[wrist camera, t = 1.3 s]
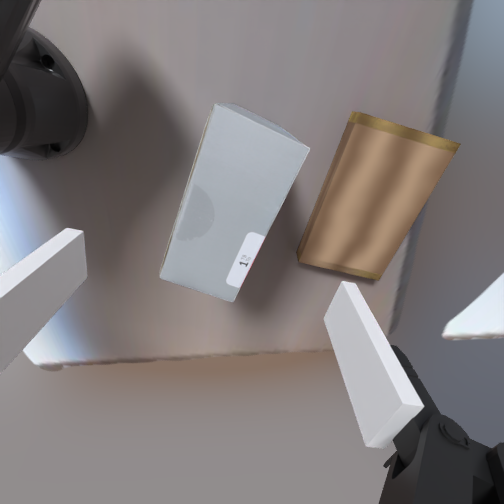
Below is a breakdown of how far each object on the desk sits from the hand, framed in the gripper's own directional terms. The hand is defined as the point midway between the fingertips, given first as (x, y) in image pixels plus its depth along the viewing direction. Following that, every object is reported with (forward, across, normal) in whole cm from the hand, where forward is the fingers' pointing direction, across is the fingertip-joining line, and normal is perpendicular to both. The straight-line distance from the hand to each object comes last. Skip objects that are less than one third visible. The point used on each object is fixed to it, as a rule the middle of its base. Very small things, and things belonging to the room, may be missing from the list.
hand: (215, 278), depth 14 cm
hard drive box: (+29, 0, -1) cm, 29 cm away
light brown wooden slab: (+28, +20, -2) cm, 35 cm away
